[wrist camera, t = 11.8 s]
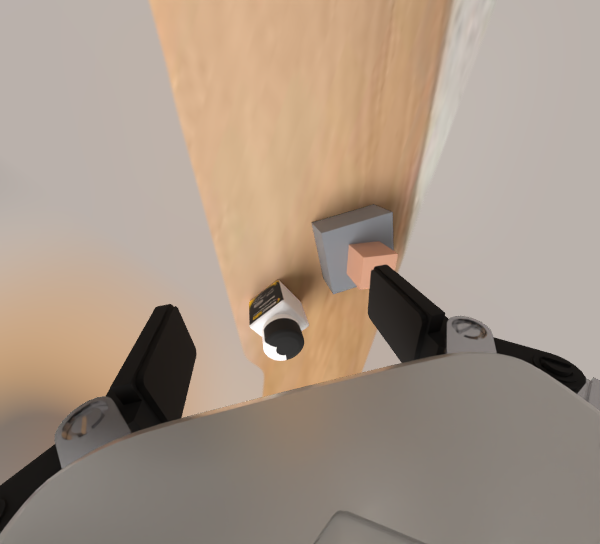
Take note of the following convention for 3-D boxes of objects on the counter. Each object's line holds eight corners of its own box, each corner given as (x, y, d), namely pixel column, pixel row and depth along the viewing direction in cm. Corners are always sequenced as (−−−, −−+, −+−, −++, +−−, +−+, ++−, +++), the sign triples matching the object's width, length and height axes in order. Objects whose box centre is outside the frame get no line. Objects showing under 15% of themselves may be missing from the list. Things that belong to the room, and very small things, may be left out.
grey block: (311, 222, 38) (321, 233, 33) (372, 203, 39) (392, 211, 34) (322, 277, 43) (333, 294, 38) (376, 260, 44) (394, 274, 39)
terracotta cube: (348, 244, 35) (363, 257, 30) (379, 241, 35) (397, 253, 31) (346, 273, 37) (359, 289, 33) (375, 269, 38) (391, 285, 33)
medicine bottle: (278, 278, 41) (288, 321, 31) (301, 301, 45) (318, 347, 34) (248, 301, 42) (249, 350, 32) (273, 322, 46) (281, 373, 35)
